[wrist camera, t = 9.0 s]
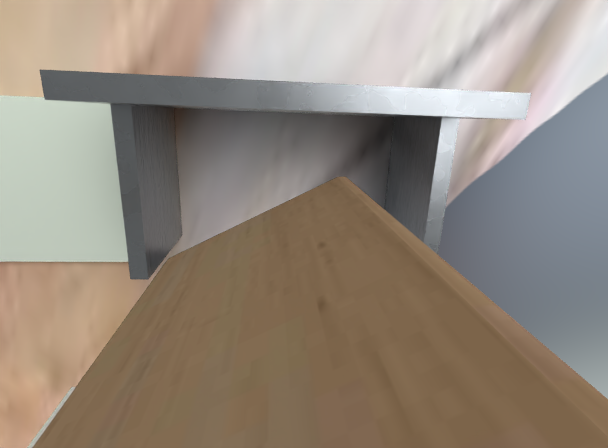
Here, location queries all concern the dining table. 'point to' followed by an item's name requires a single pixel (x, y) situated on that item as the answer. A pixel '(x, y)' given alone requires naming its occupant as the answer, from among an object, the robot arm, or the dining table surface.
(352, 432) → the wooden block
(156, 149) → the rack
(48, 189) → the sage mat
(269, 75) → the dining table surface
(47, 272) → the dining table surface
